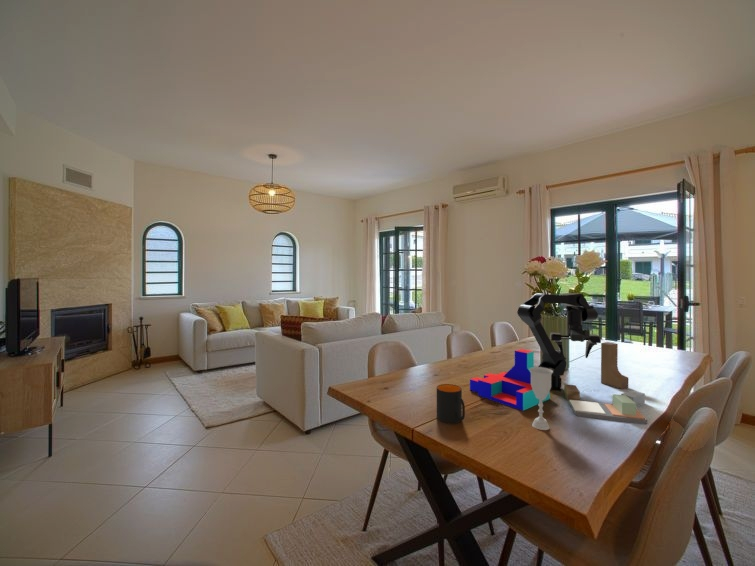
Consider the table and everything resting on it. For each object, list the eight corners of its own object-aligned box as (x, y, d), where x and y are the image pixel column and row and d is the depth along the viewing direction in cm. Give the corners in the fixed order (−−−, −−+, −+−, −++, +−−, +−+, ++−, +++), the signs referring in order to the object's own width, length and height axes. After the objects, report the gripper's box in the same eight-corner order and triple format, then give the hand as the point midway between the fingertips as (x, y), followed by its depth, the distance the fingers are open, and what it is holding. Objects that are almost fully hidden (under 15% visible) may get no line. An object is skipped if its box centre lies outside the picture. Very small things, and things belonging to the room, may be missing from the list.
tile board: (575, 415, 114) (575, 410, 114) (569, 402, 125) (569, 398, 125) (646, 424, 107) (646, 419, 107) (633, 410, 118) (633, 405, 118)
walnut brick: (567, 400, 128) (567, 390, 128) (564, 394, 135) (564, 384, 135) (579, 402, 126) (579, 391, 126) (575, 395, 134) (575, 385, 134)
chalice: (532, 419, 111) (532, 365, 111) (555, 425, 107) (555, 369, 106) (526, 427, 105) (526, 370, 105) (549, 433, 101) (550, 374, 101)
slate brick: (620, 404, 124) (621, 393, 124) (632, 400, 128) (632, 390, 128) (633, 408, 120) (633, 397, 120) (644, 404, 124) (644, 393, 124)
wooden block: (628, 387, 141) (629, 345, 141) (622, 389, 140) (622, 346, 139) (607, 381, 150) (607, 341, 149) (600, 383, 148) (600, 342, 148)
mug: (453, 430, 104) (453, 397, 104) (431, 416, 115) (431, 386, 114) (474, 425, 107) (474, 393, 107) (451, 411, 118) (451, 382, 118)
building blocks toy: (493, 383, 150) (493, 342, 149) (549, 399, 130) (549, 352, 129) (466, 392, 139) (466, 348, 138) (522, 411, 119) (523, 360, 118)
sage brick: (622, 414, 111) (622, 402, 111) (612, 405, 119) (612, 394, 119) (636, 415, 110) (636, 403, 110) (625, 406, 118) (625, 395, 117)
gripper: (553, 323, 142) (552, 359, 142) (604, 325, 135) (604, 363, 135) (549, 319, 152) (549, 354, 152) (597, 321, 146) (597, 357, 146)
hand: (574, 357), depth 146 cm, fingers open, 9 cm apart
